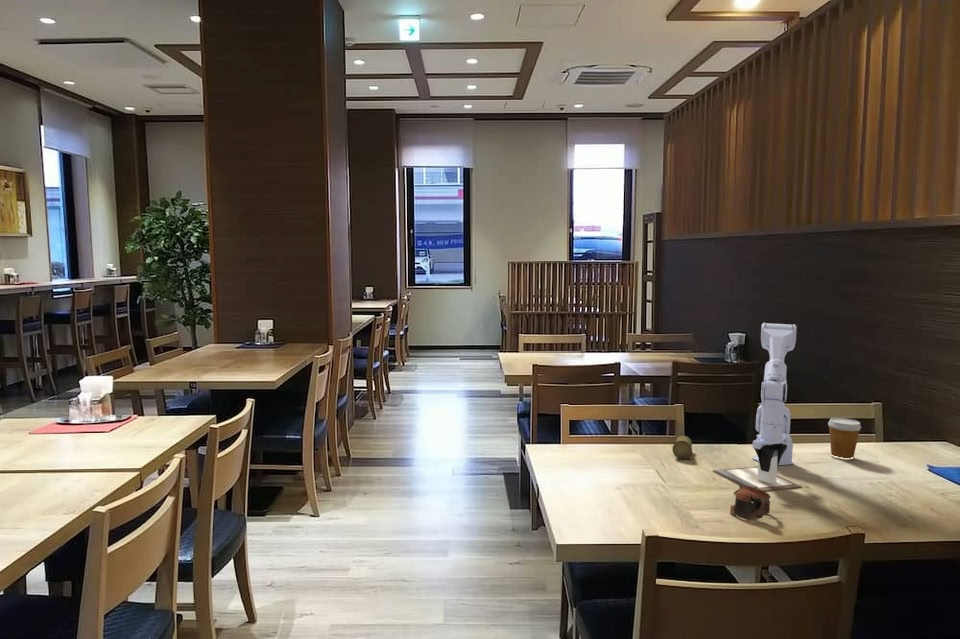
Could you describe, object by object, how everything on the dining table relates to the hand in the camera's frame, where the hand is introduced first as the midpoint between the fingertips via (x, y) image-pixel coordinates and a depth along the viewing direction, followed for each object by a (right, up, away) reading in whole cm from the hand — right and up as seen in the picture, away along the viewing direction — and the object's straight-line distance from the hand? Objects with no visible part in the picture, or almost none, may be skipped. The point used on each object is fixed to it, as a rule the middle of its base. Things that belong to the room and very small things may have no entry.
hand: (769, 469), depth 187 cm
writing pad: (-2, -4, +4) cm, 6 cm away
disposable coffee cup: (+36, -2, +27) cm, 45 cm away
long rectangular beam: (0, -3, +1) cm, 3 cm away
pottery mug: (-14, -6, -23) cm, 28 cm away
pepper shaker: (-18, +1, +21) cm, 28 cm away
